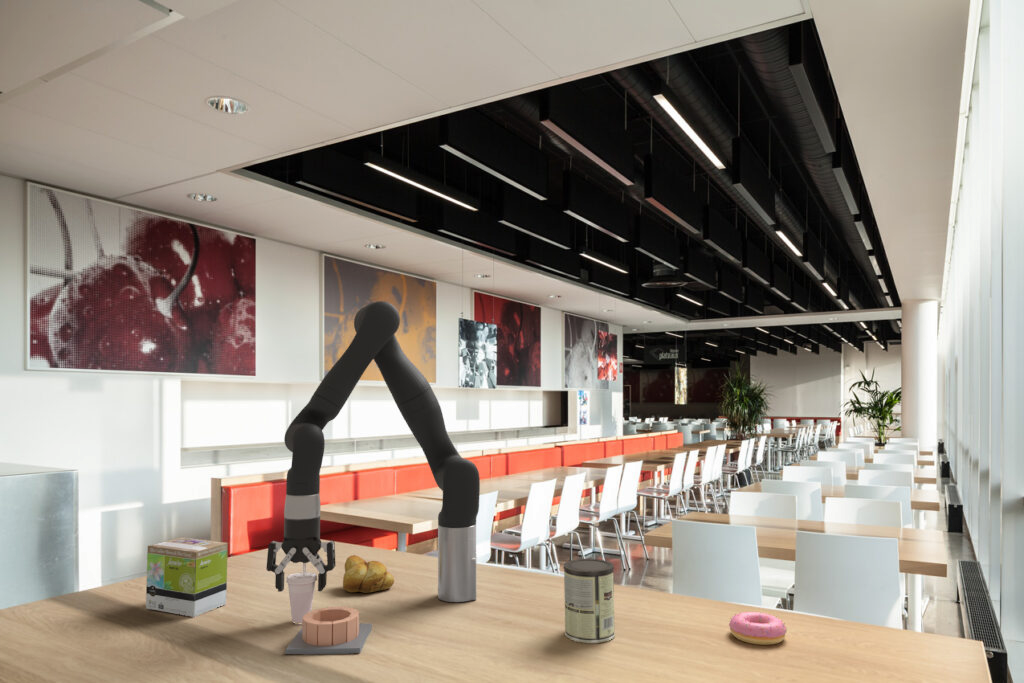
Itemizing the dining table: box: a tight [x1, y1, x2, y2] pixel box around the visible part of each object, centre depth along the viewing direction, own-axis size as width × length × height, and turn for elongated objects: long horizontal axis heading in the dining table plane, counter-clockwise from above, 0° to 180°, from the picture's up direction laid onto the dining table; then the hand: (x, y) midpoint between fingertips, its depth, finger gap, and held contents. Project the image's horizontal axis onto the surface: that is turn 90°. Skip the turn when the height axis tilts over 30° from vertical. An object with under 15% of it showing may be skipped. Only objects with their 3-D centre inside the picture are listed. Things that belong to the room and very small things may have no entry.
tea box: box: [145, 536, 229, 618], centre depth 162 cm, size 15×10×15 cm
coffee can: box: [562, 558, 616, 644], centre depth 143 cm, size 10×10×14 cm
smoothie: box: [285, 563, 318, 623], centre depth 152 cm, size 6×6×14 cm
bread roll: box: [342, 554, 395, 594], centre depth 175 cm, size 13×10×8 cm
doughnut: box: [728, 611, 788, 646], centre depth 141 cm, size 11×11×4 cm
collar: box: [285, 606, 373, 656], centre depth 140 cm, size 14×14×5 cm
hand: (300, 590), depth 152 cm, fingers open, 8 cm apart
